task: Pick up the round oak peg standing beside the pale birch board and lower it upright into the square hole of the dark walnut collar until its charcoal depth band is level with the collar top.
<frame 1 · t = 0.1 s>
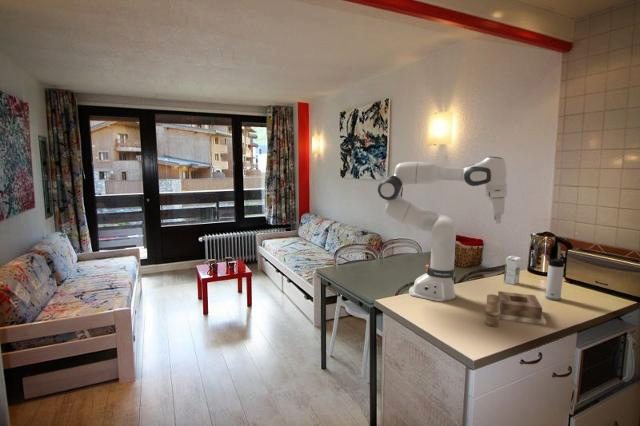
hand: (497, 221, 170), 39 cm above the worktop, tool pointing down, fingers open, 8 cm apart
oak peg: (491, 324, 152), on the worktop
travel mug: (553, 298, 180), on the worktop
socket board: (517, 313, 163), on the worktop
syrup box: (511, 283, 202), on the worktop
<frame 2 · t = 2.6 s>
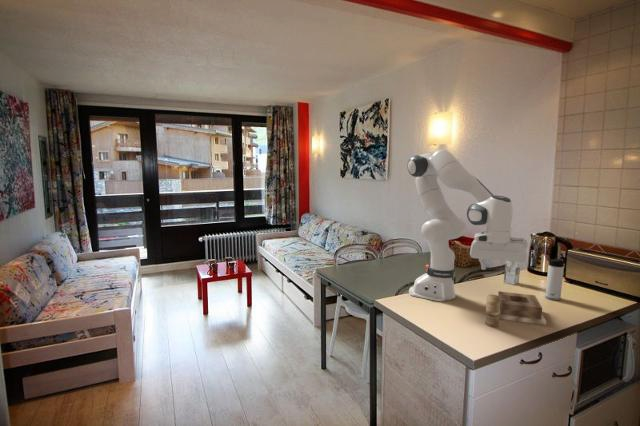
hand: (496, 270, 148), 23 cm above the worktop, tool pointing down, fingers open, 8 cm apart
nothing on the worktop moved.
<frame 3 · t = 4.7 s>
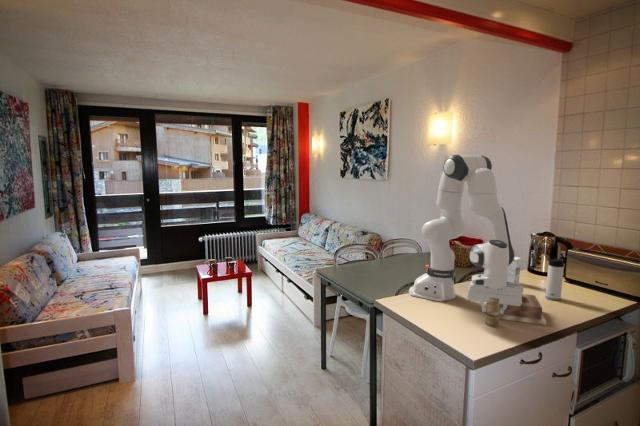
hand: (492, 312, 151), 5 cm above the worktop, tool pointing down, fingers closed on oak peg, 5 cm apart
oak peg: (491, 324, 152), on the worktop, touching gripper
everything else where it was.
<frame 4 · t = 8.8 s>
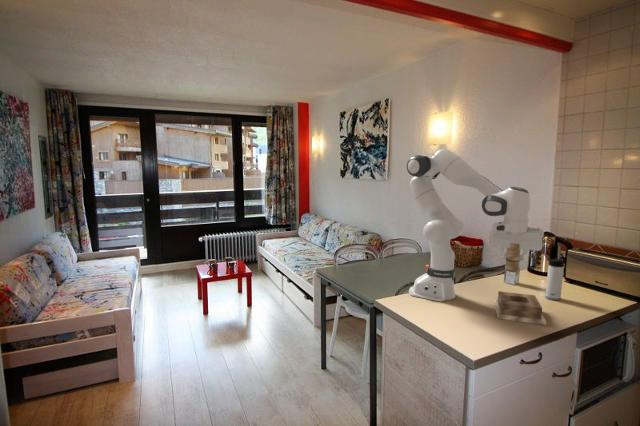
hand: (512, 258, 154), 26 cm above the worktop, tool pointing down, fingers closed on oak peg, 5 cm apart
oak peg: (511, 270, 155), point 21 cm above the worktop, touching gripper
everything else where it was.
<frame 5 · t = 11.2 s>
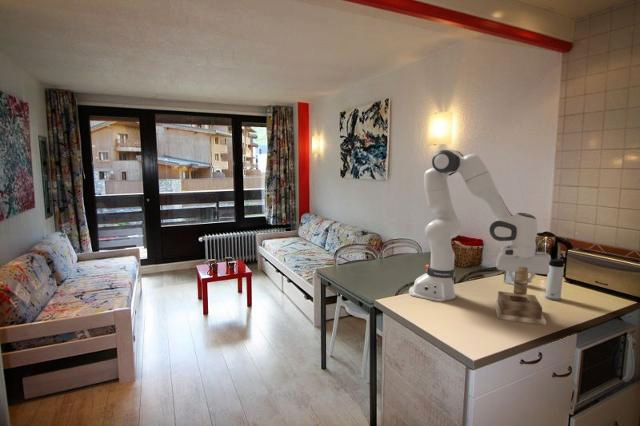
hand: (520, 281, 160), 15 cm above the worktop, tool pointing down, fingers closed on oak peg, 5 cm apart
oak peg: (520, 292, 161), point 10 cm above the worktop, touching gripper
everything else where it was.
when the fingers open (8 cm above the worktop, at t = 13.0 s): oak peg stays where it is, resting on socket board.
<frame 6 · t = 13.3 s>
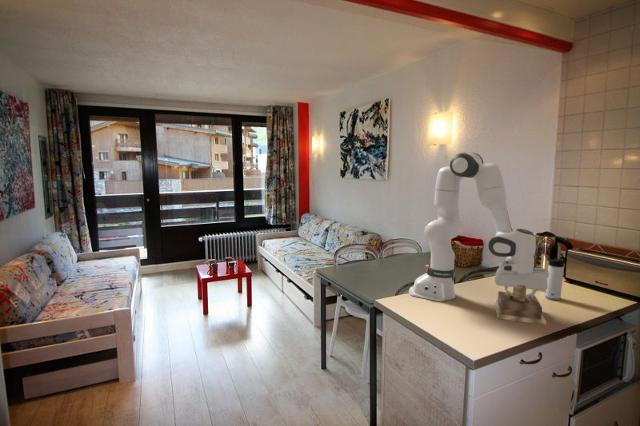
hand: (519, 296, 162), 8 cm above the worktop, tool pointing down, fingers open, 7 cm apart
oak peg: (517, 309, 163), point 2 cm above the worktop, touching socket board
everything else where it was.
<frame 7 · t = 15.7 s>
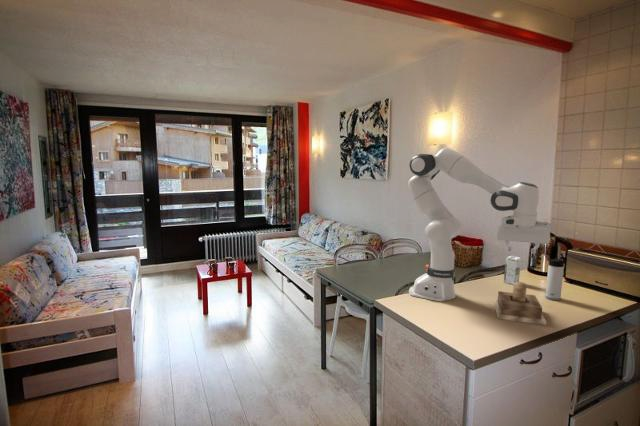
hand: (521, 251, 160), 28 cm above the worktop, tool pointing down, fingers open, 8 cm apart
nothing on the worktop moved.
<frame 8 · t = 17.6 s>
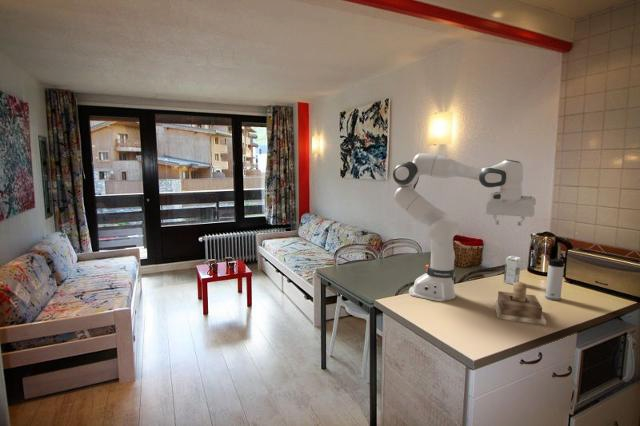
hand: (508, 225, 171), 37 cm above the worktop, tool pointing down, fingers open, 8 cm apart
nothing on the worktop moved.
at the end: oak peg 0.1 cm off-centre on the socket board, point 1.5 cm above the socket board's base; oak peg tilted 0°; the gripper is holding nothing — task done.
